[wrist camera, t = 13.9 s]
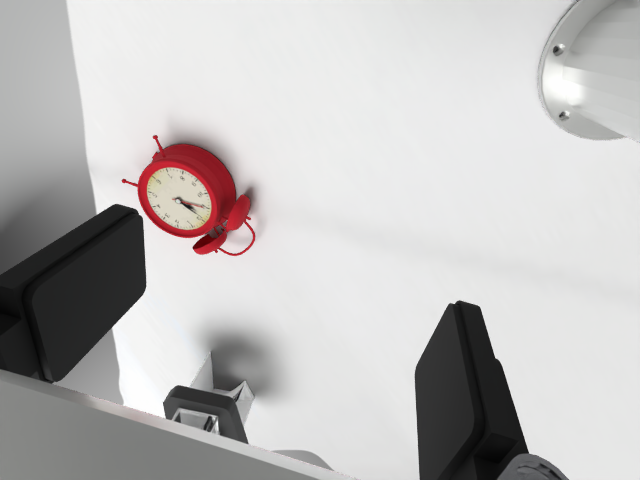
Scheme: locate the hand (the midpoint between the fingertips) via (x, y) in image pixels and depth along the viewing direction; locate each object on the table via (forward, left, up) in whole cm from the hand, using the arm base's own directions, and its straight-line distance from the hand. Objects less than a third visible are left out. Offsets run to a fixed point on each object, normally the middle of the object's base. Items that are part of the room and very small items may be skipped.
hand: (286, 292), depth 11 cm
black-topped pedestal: (+11, +43, -29) cm, 53 cm away
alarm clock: (+16, +13, -29) cm, 36 cm away
